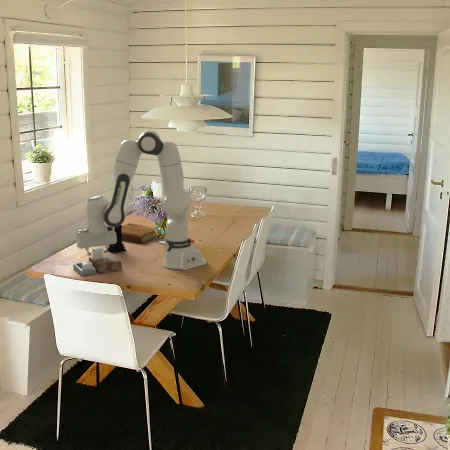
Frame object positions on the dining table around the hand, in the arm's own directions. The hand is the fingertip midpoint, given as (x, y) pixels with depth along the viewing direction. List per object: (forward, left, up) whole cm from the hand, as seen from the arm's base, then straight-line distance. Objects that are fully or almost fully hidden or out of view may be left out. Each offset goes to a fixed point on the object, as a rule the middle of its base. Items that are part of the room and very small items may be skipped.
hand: (97, 254), depth 299 cm
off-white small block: (+8, +6, -7) cm, 12 cm away
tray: (+8, +3, -7) cm, 11 cm away
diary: (-39, -40, -8) cm, 56 cm away
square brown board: (-3, +4, -7) cm, 8 cm away
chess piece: (-19, -21, -7) cm, 29 cm away
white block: (0, 0, -2) cm, 2 cm away
